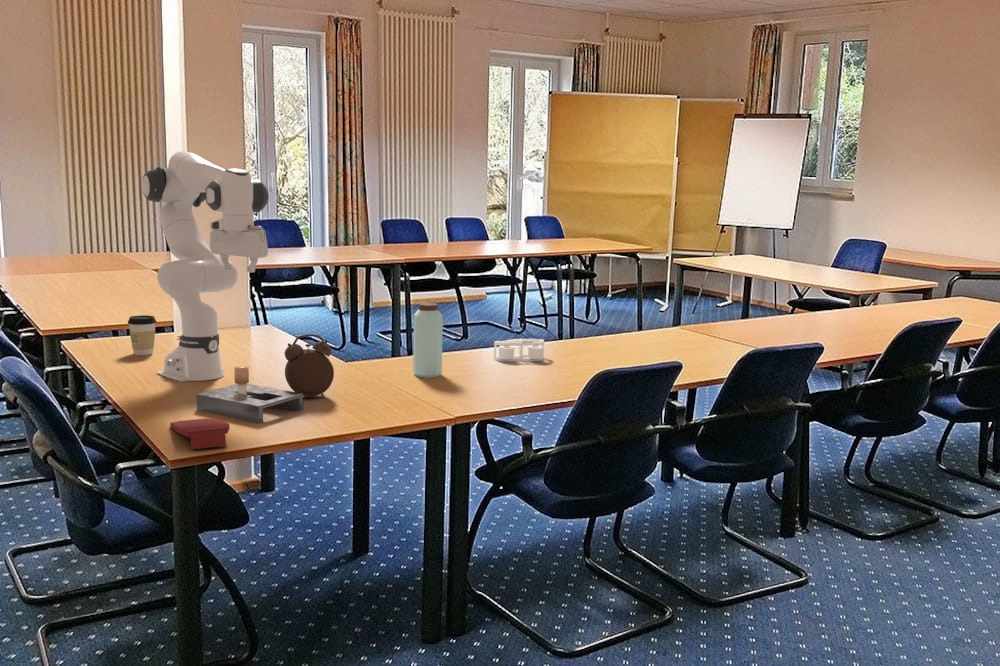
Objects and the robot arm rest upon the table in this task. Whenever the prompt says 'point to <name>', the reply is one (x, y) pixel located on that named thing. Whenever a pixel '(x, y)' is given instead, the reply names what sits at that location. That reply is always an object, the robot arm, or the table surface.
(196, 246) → the robot arm
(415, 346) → the water bottle
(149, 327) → the coffee cup
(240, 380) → the peg
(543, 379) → the table surface
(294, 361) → the alarm clock
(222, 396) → the keyhole board
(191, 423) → the carton
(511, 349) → the white double holder
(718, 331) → the table surface
